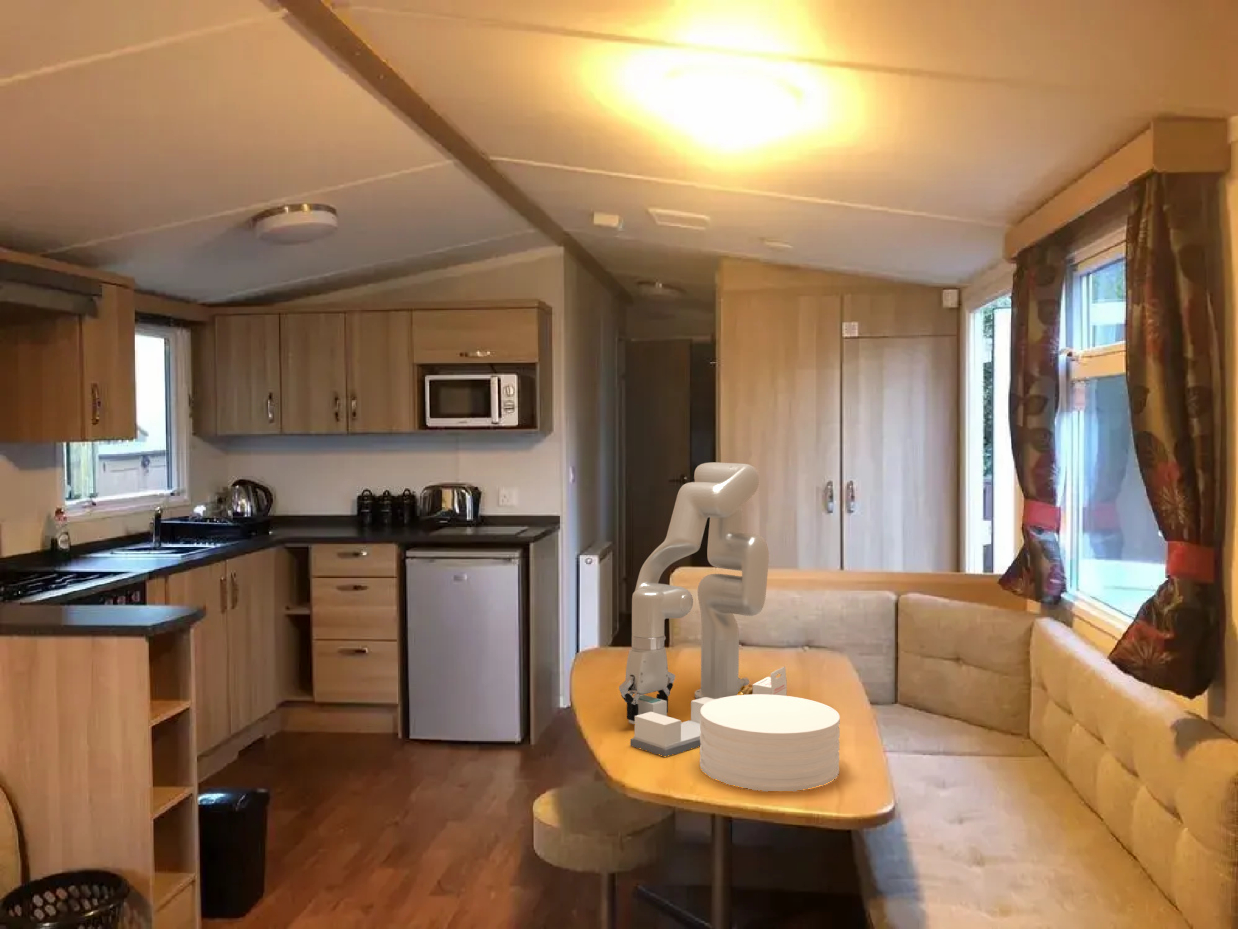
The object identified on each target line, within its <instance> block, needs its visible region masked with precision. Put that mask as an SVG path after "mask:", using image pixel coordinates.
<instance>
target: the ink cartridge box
mask: <svg viewBox="0 0 1238 929" xmlns="http://www.w3.org/2000/svg"><path fill="white" fill-rule="evenodd" d="M786 671H787V670H786V666H785V665H784V666H783V667H780V668H778V669H776V670H774V671H773V672H770V676H766V677H765V678H762V679H761V680H759V681H757V682H755V683H753V684H752V694H768V695H783V696H787V687H788V686H787V672H786ZM778 675H780V676H779V677H777V676H778Z"/></svg>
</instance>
